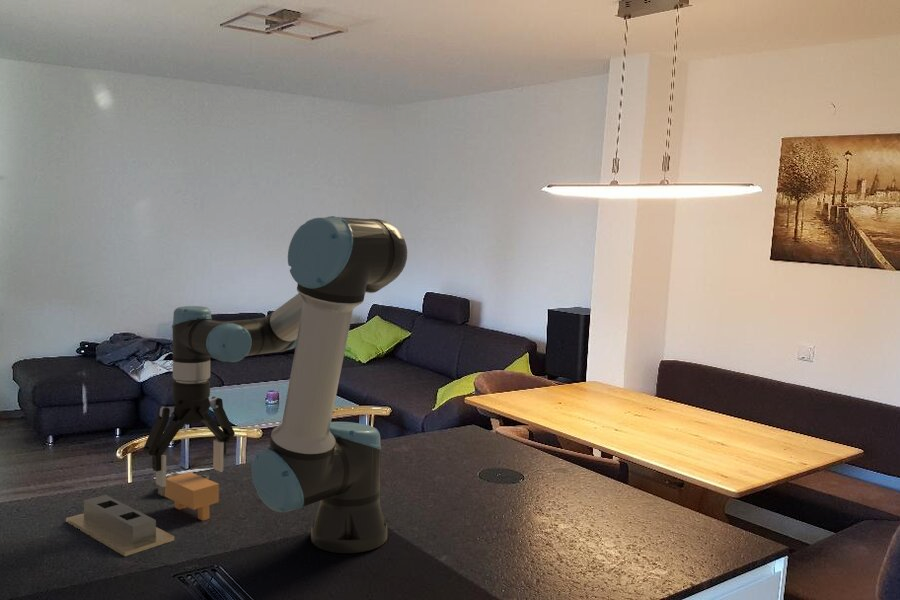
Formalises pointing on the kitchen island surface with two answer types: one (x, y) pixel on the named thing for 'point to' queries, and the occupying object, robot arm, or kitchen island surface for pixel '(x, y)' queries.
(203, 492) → the orange toy brick
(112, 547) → the beige grey stepped block
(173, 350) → the robot arm
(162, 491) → the egg carton
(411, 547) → the kitchen island surface
